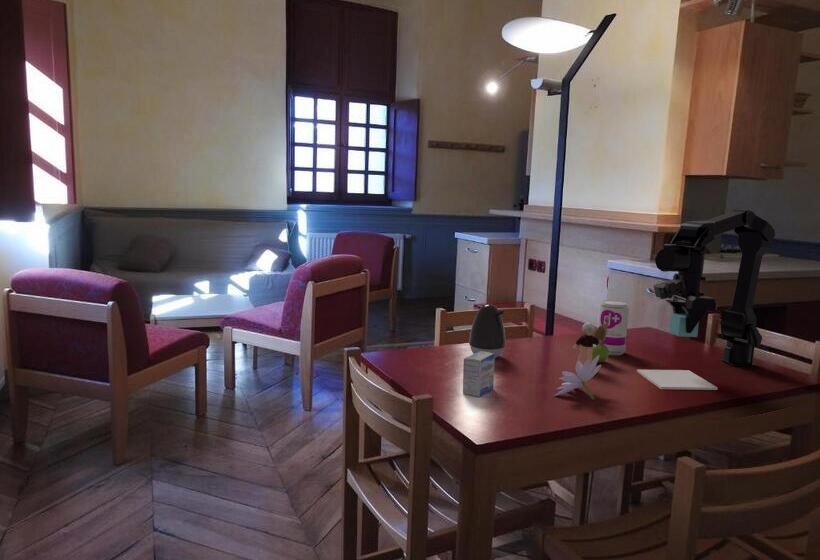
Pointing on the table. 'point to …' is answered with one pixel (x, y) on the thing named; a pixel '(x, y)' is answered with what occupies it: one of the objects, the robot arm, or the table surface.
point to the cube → (681, 326)
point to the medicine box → (478, 373)
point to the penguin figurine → (488, 331)
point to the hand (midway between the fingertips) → (683, 330)
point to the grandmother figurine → (586, 343)
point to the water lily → (579, 376)
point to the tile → (676, 379)
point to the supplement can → (614, 325)
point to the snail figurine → (600, 335)
